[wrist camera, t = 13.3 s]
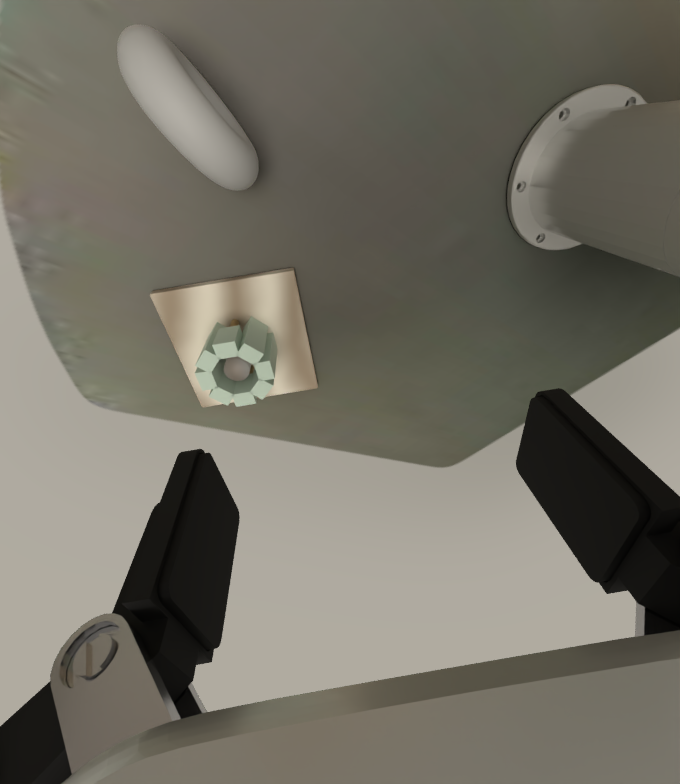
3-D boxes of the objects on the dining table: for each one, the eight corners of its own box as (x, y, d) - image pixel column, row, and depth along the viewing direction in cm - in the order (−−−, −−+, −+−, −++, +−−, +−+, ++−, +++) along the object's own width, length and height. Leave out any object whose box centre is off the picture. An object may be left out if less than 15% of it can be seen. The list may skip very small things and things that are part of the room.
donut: (140, 71, 26) (68, 38, 17) (171, 31, 25) (109, -25, 16) (244, 193, 31) (225, 211, 22) (272, 164, 30) (264, 172, 21)
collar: (267, 310, 36) (262, 336, 31) (282, 367, 40) (280, 399, 35) (199, 321, 36) (183, 349, 31) (221, 378, 40) (211, 411, 35)
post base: (293, 267, 35) (293, 287, 30) (317, 383, 43) (320, 414, 38) (153, 290, 34) (129, 314, 30) (204, 402, 43) (192, 435, 38)
